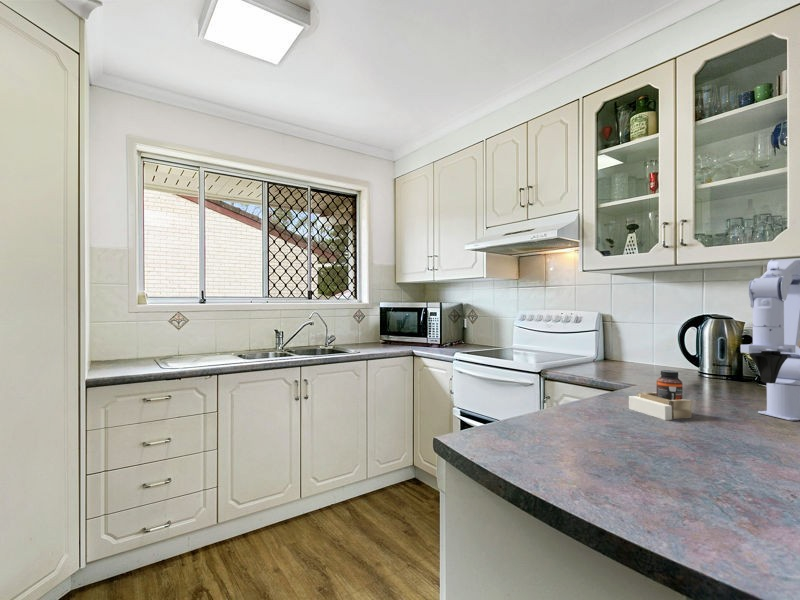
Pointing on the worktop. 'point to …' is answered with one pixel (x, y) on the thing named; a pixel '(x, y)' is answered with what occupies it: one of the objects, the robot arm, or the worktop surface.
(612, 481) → the worktop surface
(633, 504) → the worktop surface
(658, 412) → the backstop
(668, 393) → the supplement bottle
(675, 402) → the cradle
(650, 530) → the worktop surface
